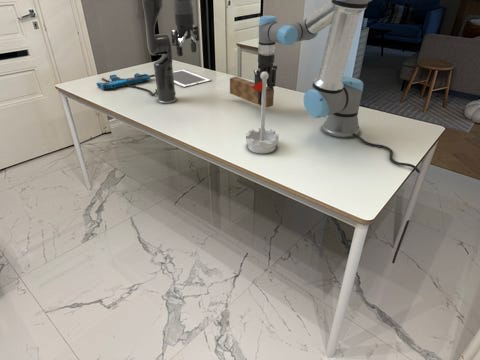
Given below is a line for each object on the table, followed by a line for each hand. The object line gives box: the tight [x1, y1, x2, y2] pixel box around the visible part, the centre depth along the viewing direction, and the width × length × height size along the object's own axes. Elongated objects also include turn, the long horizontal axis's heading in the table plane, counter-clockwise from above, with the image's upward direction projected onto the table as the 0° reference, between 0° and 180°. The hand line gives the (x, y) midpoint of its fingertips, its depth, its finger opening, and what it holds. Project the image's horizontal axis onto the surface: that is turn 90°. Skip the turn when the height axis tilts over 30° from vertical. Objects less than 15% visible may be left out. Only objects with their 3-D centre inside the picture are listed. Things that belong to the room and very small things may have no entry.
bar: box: [229, 76, 275, 109], centre depth 171 cm, size 27×4×8 cm, turn 42°
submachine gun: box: [95, 72, 155, 91], centre depth 209 cm, size 34×4×25 cm
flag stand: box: [245, 72, 280, 154], centre depth 128 cm, size 13×13×30 cm
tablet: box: [173, 69, 212, 88], centre depth 216 cm, size 32×20×1 cm, turn 41°
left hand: (187, 53), depth 145 cm, fingers open, 8 cm apart
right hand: (264, 102), depth 166 cm, fingers closed on bar, 4 cm apart
